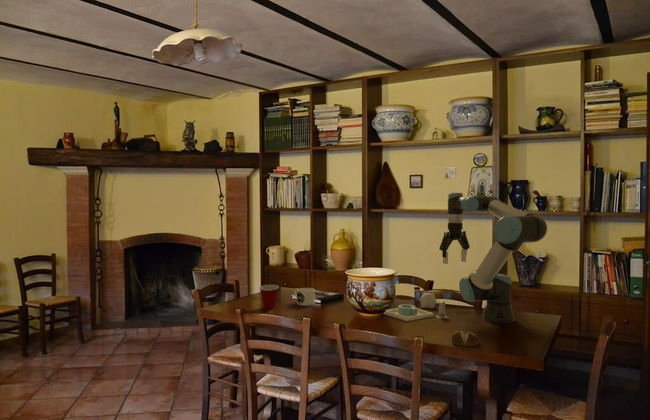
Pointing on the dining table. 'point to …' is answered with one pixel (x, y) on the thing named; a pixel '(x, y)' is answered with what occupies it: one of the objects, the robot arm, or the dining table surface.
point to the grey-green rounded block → (407, 310)
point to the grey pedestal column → (441, 310)
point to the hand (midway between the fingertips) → (454, 262)
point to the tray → (407, 318)
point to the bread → (464, 338)
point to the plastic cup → (269, 295)
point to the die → (428, 300)
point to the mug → (305, 296)
